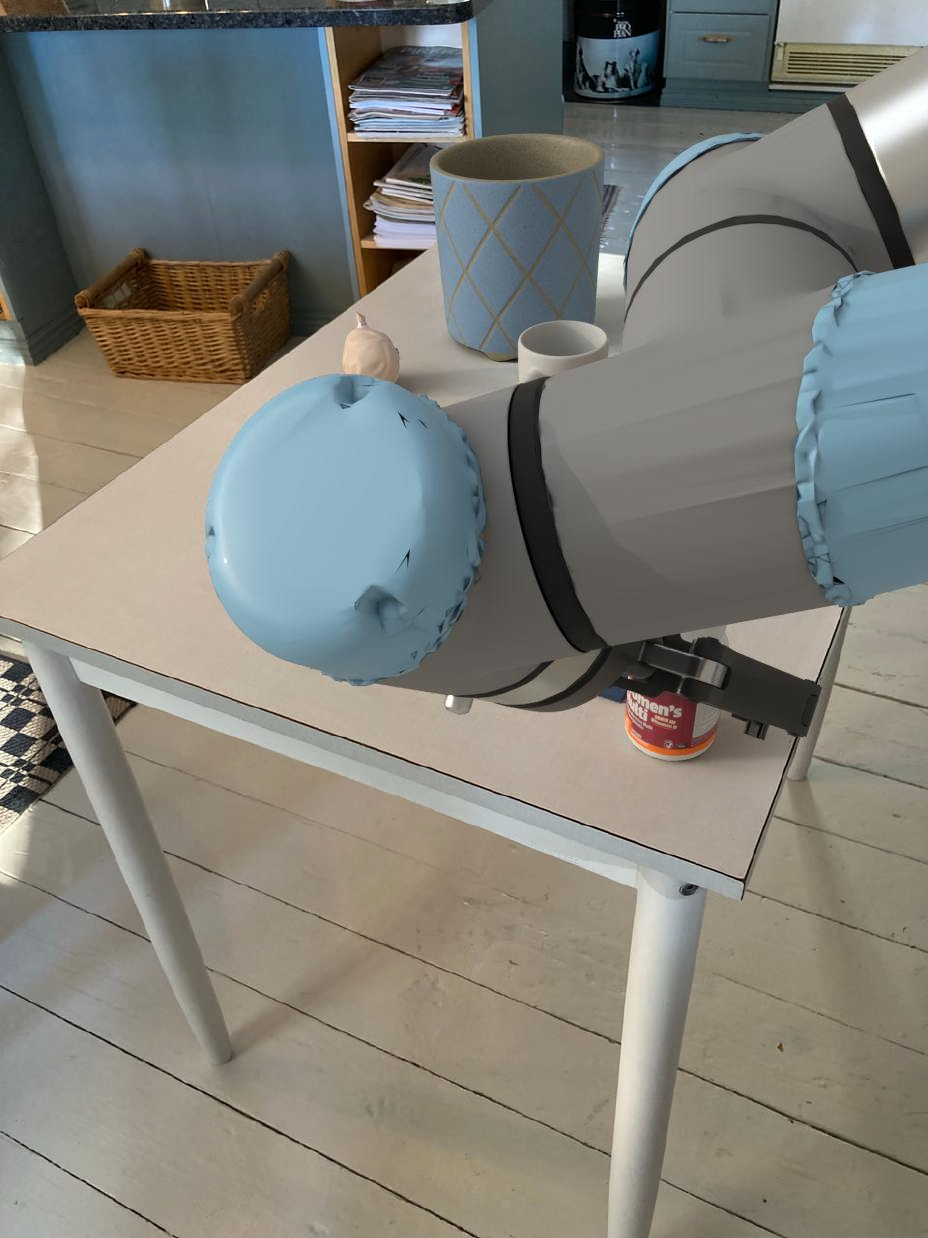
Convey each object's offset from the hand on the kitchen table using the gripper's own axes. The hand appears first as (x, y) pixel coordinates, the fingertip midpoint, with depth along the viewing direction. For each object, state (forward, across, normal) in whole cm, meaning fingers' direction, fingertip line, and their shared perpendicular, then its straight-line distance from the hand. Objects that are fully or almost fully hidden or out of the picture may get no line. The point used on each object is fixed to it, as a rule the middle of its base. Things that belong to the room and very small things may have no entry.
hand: (644, 664), depth 57 cm
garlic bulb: (+37, -48, +21) cm, 64 cm away
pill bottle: (+12, 0, -4) cm, 13 cm away
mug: (+34, -24, +18) cm, 46 cm away
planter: (+51, -40, +35) cm, 74 cm away
